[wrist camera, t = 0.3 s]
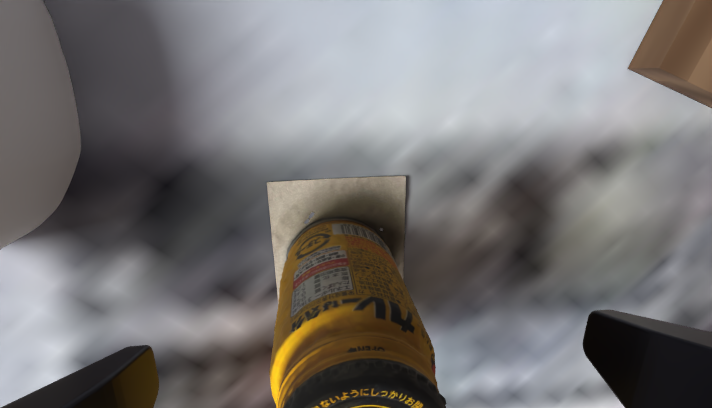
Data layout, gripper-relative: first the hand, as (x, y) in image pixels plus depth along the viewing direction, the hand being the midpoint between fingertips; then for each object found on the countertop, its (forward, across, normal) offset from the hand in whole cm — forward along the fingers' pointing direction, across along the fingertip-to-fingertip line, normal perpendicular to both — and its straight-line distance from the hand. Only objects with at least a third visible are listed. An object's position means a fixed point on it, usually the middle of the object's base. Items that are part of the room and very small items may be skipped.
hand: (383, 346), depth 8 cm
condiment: (+14, 0, -4) cm, 15 cm away
